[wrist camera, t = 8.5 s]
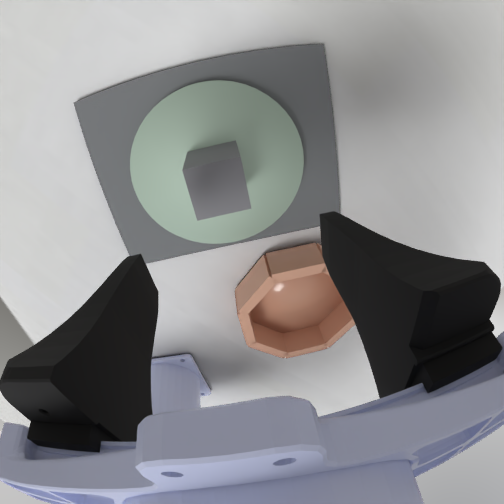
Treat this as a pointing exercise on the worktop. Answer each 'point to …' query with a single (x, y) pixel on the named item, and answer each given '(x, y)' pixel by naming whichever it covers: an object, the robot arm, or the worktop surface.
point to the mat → (220, 68)
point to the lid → (216, 162)
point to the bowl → (291, 303)
